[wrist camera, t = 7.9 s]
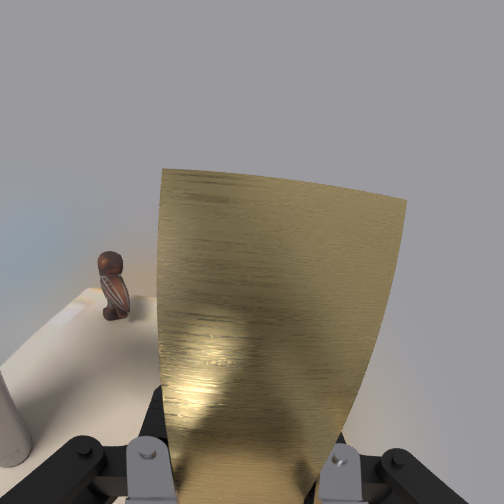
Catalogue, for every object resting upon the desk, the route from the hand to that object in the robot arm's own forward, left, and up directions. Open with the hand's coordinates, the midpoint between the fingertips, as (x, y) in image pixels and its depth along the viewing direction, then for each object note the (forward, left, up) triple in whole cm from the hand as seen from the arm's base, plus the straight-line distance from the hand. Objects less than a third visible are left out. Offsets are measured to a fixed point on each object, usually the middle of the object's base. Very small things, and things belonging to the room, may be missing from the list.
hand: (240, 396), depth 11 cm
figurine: (-48, +23, -23) cm, 58 cm away
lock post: (+2, -2, -10) cm, 10 cm away
